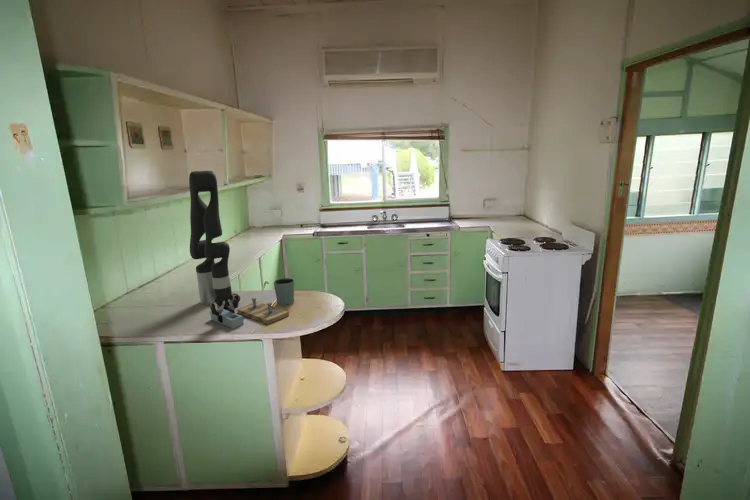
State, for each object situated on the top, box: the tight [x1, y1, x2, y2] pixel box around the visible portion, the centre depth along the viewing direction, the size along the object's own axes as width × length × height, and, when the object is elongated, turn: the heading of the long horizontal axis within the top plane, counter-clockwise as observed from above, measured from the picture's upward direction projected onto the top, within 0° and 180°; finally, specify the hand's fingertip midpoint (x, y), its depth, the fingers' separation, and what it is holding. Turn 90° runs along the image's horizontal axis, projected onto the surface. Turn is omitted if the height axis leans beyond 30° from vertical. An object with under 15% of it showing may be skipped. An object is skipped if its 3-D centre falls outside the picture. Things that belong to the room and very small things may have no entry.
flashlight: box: [220, 292, 241, 311], centre depth 205 cm, size 15×5×5 cm, turn 0°
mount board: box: [236, 296, 290, 325], centre depth 195 cm, size 24×12×7 cm, turn 52°
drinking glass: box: [273, 277, 295, 307], centre depth 208 cm, size 10×10×12 cm
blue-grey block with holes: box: [209, 308, 245, 329], centre depth 189 cm, size 18×6×4 cm, turn 52°
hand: (226, 319), depth 189 cm, fingers closed on blue-grey block with holes, 5 cm apart
